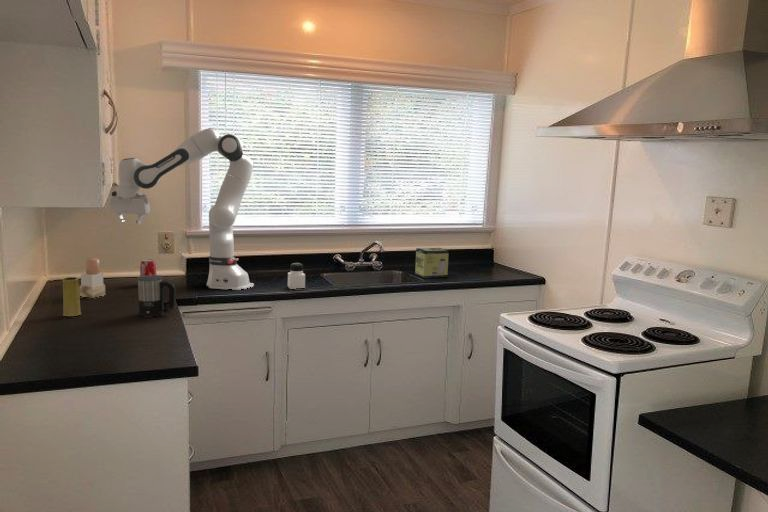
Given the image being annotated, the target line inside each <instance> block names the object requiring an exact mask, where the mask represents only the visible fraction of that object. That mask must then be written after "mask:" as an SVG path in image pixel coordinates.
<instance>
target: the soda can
mask: <svg viewBox="0 0 768 512" xmlns="http://www.w3.org/2000/svg"><path fill="white" fill-rule="evenodd" d="M139 265H140V266H139V272H140V273H139V275H140V276H147V275H157V263H156V261H155V259H153V258H145V259H141V261H140V264H139ZM140 276H139V277H140Z"/></svg>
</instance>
